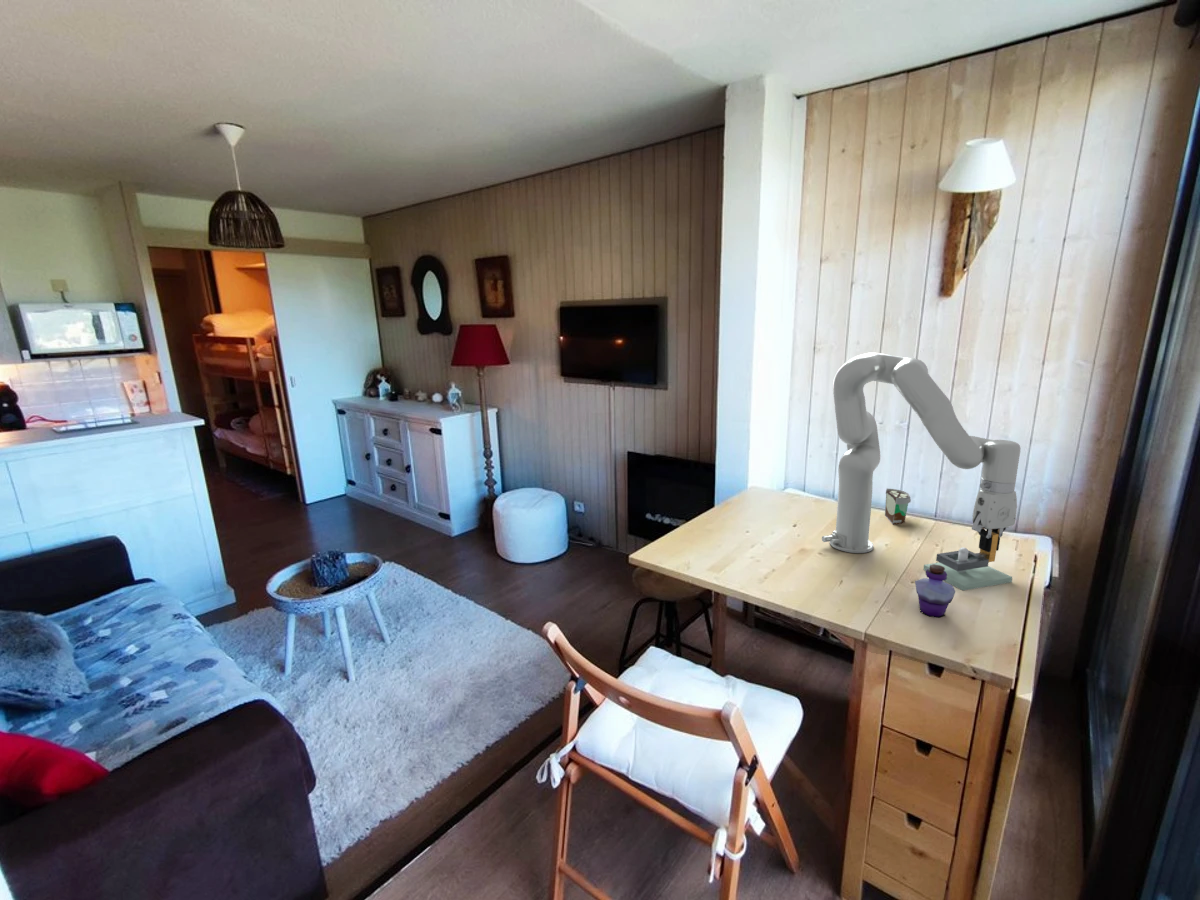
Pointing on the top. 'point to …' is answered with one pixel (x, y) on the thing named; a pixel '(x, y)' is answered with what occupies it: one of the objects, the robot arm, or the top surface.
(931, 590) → the potion bottle
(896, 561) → the top surface
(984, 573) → the plate
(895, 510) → the food container
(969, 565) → the grey square frame
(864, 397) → the robot arm
